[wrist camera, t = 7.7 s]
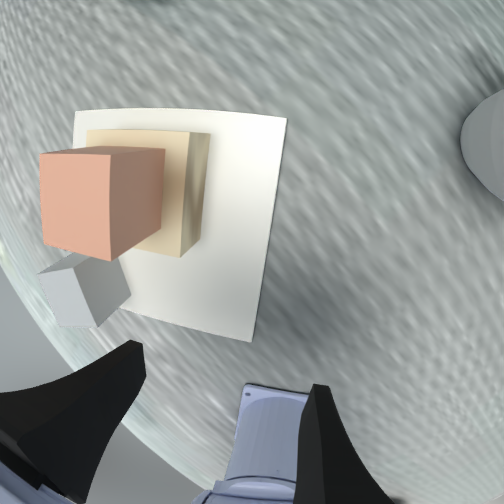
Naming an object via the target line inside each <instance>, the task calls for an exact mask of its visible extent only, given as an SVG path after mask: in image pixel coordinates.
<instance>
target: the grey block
mask: <svg viewBox="0 0 504 504" xmlns="http://www.w3.org/2000/svg"><path fill="white" fill-rule="evenodd" d="M37 276H38V279H39V281H40V284H41V286H42V289H43V291H44V293H45V296H46V298H47V301H48V303H49V305H50V307H51V310H52V312H53V314H54V316H55V318H56V320H57V323H58V325H59V327H73V328H98V327H99V326H100V325H101V324H102V323H103V322H104V321H105V320H106V319H107V318H108V317H109V316H110V315H111V314H112V313H113V312H114V311H115V310H116V309H118V308H119V307H120V306H121V305H122V304H123V303H124V302H125V301H126V300H127V299H128V298H129V297H130V296H131V292H130V290H129V287H128V284H127V281H126V279H125V276H124V273H123V270H122V267H121V265H120V262H119V259H118V257H117V258H116V259H114V260H113V261H111V262H110V261H106V260H102V259H98V258H95V257H91V256H87V255H83V254H79V253H75V252H74V253H72V254H70V255H69V256H67V257H65V258H63V259H62V260H60V261H58V262H57V263H55V264H53V265H52V266H50V267H48V268H47V269H45V270H43V271H42V272H40V273H38V274H37Z"/></svg>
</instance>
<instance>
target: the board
mask: <svg viewBox="0 0 504 504" xmlns="http://www.w3.org/2000/svg"><path fill="white" fill-rule="evenodd" d="M286 125H287V118H280V117H273V116H265V115H257V114H248V113H238V112H227V111H215V110H199V109H175V108H124V109H101V110H86V111H75V122H74V135H73V149H76V148H84V147H86V136H87V130H98V129H142V130H167V131H184V132H198V133H209V134H211V135H210V143H209V151H208V160H207V170H206V179H205V189H204V200H203V211H202V222H201V235H200V240H199V241H198V242H197V243H196V244H194V245H193V246H192V247H191V248H190V249H189V250H188V251H187V252H186V253H185V254H184V255H183V256H182V257H181V258H177V257H172V256H168V255H163V254H158V253H154V252H149V251H144V250H140V249H135V248H131V249H129V250H128V251H126V252H125V253H123V254H122V255H120V256H119V257H118V259H119V262H120V265H121V267H122V270H123V273H124V276H125V279H126V281H127V284H128V287H129V290H130V292H131V296H130V297H129V298H128V299H127V300H126V301H125V302H124V303H123V304H122V305H121V306H120V307H119V308H121V309H125V310H128V311H131V312H134V313H138V314H141V315H144V316H148V317H151V318H155V319H158V320H162V321H165V322H169V323H172V324H176V325H180V326H184V327H187V328H191V329H195V330H199V331H203V332H207V333H211V334H215V335H219V336H224V337H228V338H232V339H237V340H241V341H246V342H252V338H253V333H254V327H255V321H256V315H257V309H258V303H259V297H260V291H261V285H262V279H263V273H264V267H265V261H266V255H267V249H268V242H269V236H270V230H271V224H272V217H273V211H274V204H275V198H276V192H277V185H278V178H279V172H280V165H281V159H282V152H283V145H284V138H285V132H286Z"/></svg>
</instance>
